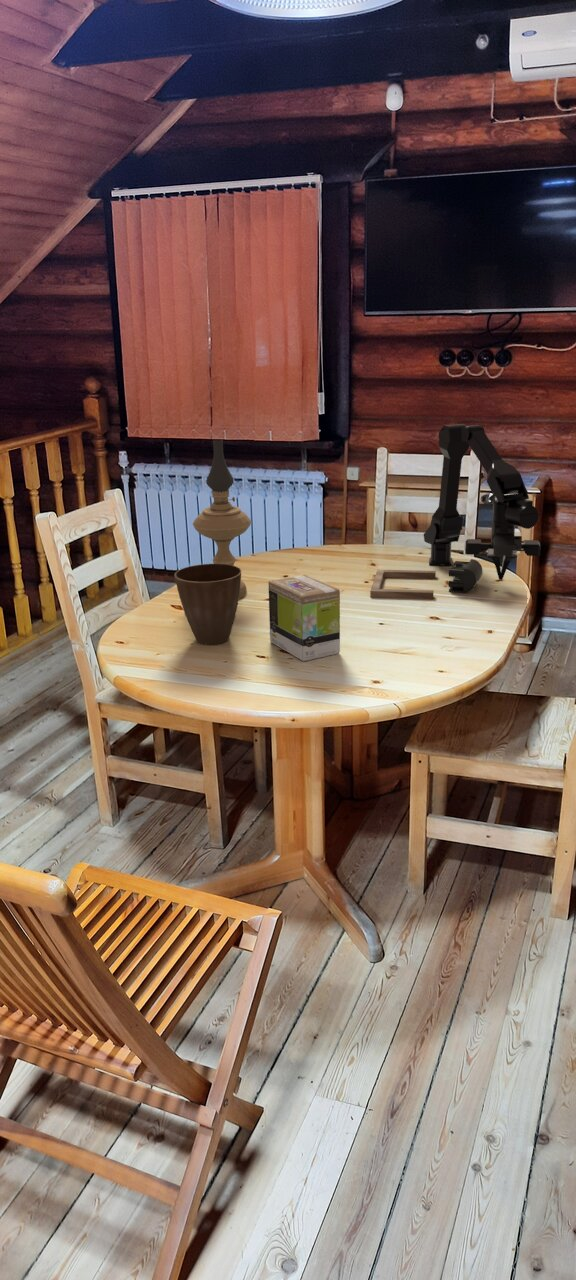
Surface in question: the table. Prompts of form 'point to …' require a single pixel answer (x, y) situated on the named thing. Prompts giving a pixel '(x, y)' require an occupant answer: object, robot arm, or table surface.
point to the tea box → (304, 617)
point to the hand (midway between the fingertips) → (500, 579)
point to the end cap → (464, 576)
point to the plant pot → (209, 599)
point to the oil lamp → (222, 512)
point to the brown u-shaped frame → (397, 593)
